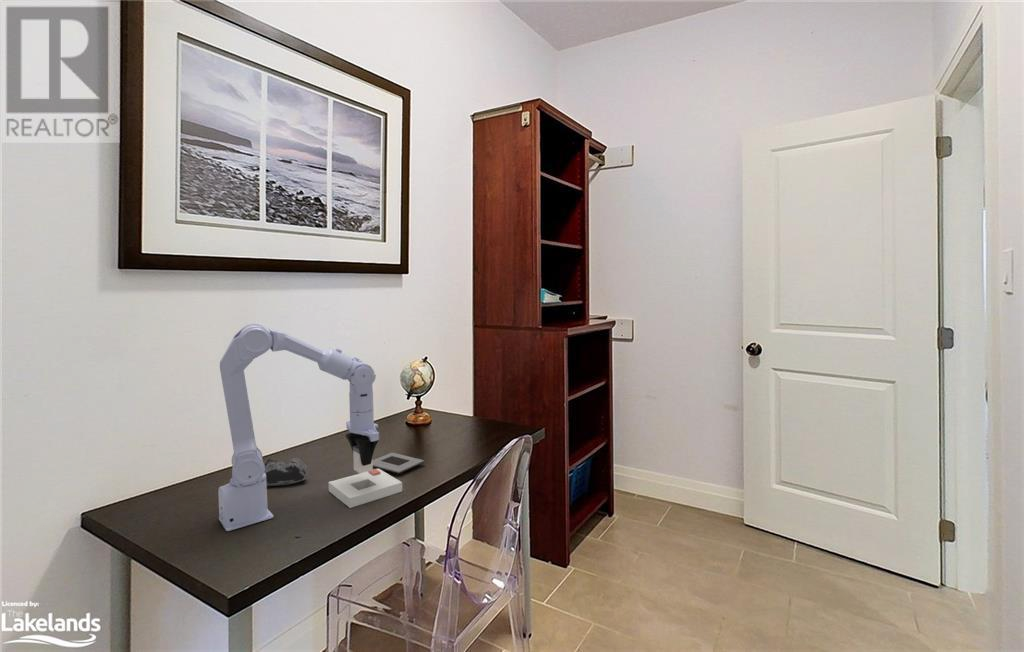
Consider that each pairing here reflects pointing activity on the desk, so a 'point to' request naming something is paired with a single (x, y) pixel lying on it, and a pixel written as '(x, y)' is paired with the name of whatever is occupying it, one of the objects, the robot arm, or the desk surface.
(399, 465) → the electrical outlet
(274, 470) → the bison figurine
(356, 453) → the plug
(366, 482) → the socket plate
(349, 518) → the desk surface
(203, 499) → the desk surface
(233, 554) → the desk surface
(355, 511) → the desk surface
